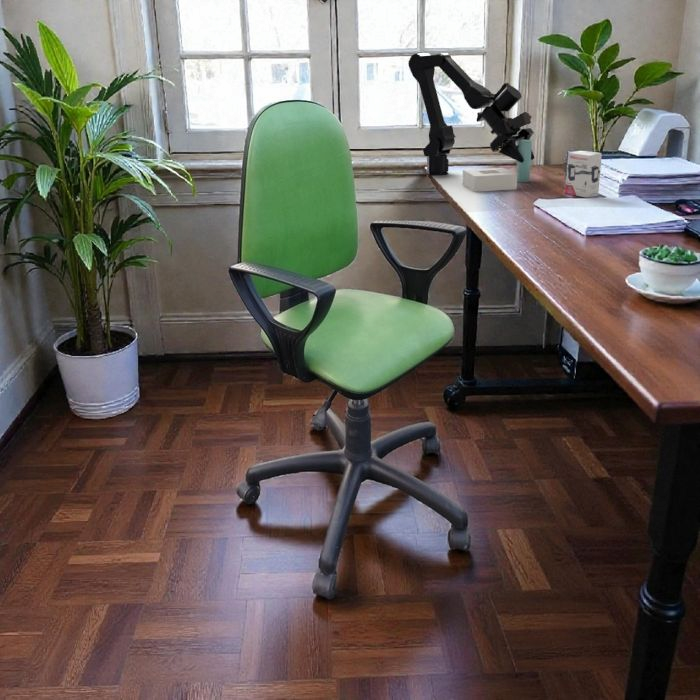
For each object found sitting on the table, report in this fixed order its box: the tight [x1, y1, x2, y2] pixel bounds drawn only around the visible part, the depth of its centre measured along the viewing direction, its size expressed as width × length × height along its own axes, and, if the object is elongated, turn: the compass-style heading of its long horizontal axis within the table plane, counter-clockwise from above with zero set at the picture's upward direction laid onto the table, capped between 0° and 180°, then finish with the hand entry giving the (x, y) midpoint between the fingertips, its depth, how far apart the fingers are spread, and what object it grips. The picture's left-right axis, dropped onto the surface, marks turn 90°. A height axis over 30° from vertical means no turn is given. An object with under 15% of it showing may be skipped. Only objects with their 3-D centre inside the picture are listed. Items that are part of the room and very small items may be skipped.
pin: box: [516, 139, 533, 183], centre depth 237 cm, size 4×4×12 cm
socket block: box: [462, 167, 518, 193], centre depth 232 cm, size 13×13×4 cm
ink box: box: [564, 150, 603, 198], centre depth 214 cm, size 8×5×12 cm, turn 31°
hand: (528, 160), depth 236 cm, fingers open, 6 cm apart
